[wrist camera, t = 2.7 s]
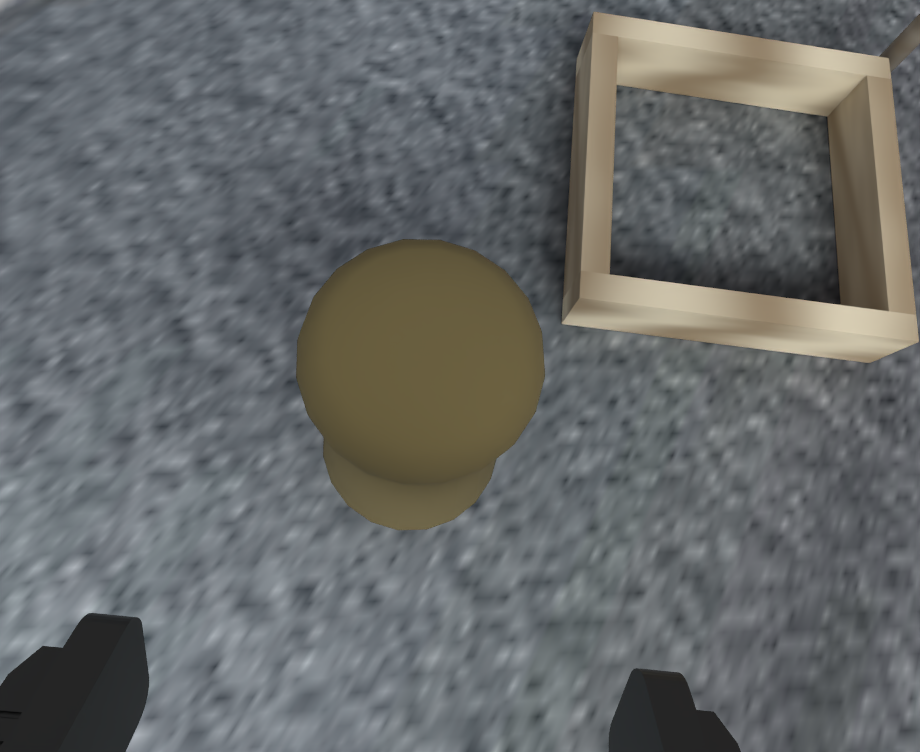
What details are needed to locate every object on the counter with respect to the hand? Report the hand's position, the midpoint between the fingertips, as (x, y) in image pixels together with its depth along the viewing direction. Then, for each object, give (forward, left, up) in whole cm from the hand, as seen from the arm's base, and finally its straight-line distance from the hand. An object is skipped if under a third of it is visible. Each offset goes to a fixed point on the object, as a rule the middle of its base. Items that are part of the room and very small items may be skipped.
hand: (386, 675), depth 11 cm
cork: (0, +6, -11) cm, 13 cm away
